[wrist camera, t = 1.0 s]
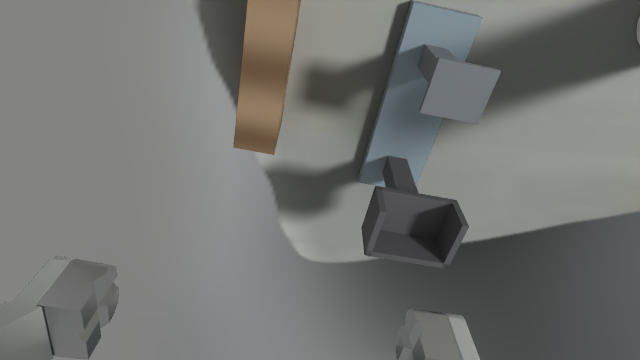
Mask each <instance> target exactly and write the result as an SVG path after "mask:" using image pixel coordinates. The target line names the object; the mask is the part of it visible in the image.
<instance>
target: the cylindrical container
mask: <svg viewBox="0 0 640 360" xmlns="http://www.w3.org/2000/svg"><path fill="white" fill-rule="evenodd" d="M636 33H637V40H638V42H639V45H640V16H639V19H638V23H637V31H636Z"/></svg>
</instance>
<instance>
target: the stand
mask: <svg viewBox="0 0 640 360" xmlns="http://www.w3.org/2000/svg"><path fill="white" fill-rule="evenodd" d="M481 21H482V17H480V16H478V15H475V14H470V13H466V12H461V11H457V10H453V9H448V8H444V7H439V6H435V5H430V4H426V3H422V2H417V1H413V0H411V3H410V7H409V10H408V13H407V17H406V20H405V23H404V27H403V30H402V33H401V37H400V40H399V44H398V47H397V50H396V54H395V57H394V60H393V64H392V67H391V70H390V74H389V77H388V80H387V84H386V87H385V90H384V94H383V97H382V100H381V104H380V107H379V110H378V114H377V117H376V120H375V124H374V127H373V130H372V134H371V137H370V140H369V144H368V147H367V151H366V154H365V157H364V161H363V164H362V167H361V171H360V174H359V182H360V183H365V184H371V185H376V186H375V189H374V192H373V195H372V198H371V201H370V204H369V207H368V210H367V213H366V216H365V219H364V222H363V225H362V236H363V245H364V254H365V255H366V256H372V257H378V258H384V259H390V260H397V261H403V262H409V263H415V264H421V265H427V266H433V267H439V268H446V269H447V268H448V267H449V265H450V263H451V261H452V259H453V257H454V255H455V253H456V251H457V249H458V247H459V245H460V243H461V241H462V239H463V237H464V236H465V234H466V232H467V230H468V228H469V226H468V224H467V221H466V219H465V217H464V215H463V213H462V211H461V209H460V206H459V204H458V202H457V200H452V199H447V198H441V197H436V196H430V195H425V194H419V193H418V191H417V188H416V186H417V183H418V180H419V178H420V175H421V173H422V170H423V168H424V165H425V163H426V160H427V158H428V155H429V153H430V150H431V148H432V145H433V142H434V140H435V137H436V135H437V132H438V130H439V127H440V125H441V122H442V120H443V118H448V119H453V120H458V121H463V122H468V123H473V124H478V122H479V120H480V118H481V116H482V113H483V111H484V109H485V107H486V105H487V102H488V100H489V98H490V96H491V93H492V91H493V89H494V87H495V84H496V82H497V80H498V78H499V75H500V73H501V71H500V70H499V69H496V68H491V67H486V66H482V65H477V64H473V63H468V62H465V61H466V59H467V56H468V54H469V51H470V49H471V46H472V44H473V41H474V39H475V36H476V34H477V31H478V28H479V26H480V23H481ZM380 186H382V187H380Z"/></svg>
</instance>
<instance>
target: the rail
mask: <svg viewBox="0 0 640 360" xmlns="http://www.w3.org/2000/svg"><path fill="white" fill-rule="evenodd" d="M300 3H301V0H248V3H247V13H246V23H245V34H244V44H243V55H242V65H241V75H240V86H239V96H238V106H237V117H236V127H235V137H234V148H240V149H246V150H250V151H256V152H261V153H267V154H272V155H274V153H275V148H276V144H277V140H278V135H279V131H280V127H281V121H282V114H283V108H284V102H285V96H286V90H287V83H288V77H289V71H290V65H291V59H292V52H293V46H294V40H295V34H296V28H297V21H298V15H299V9H300Z"/></svg>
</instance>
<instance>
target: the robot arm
mask: <svg viewBox="0 0 640 360" xmlns="http://www.w3.org/2000/svg"><path fill="white" fill-rule="evenodd" d="M116 277H117V269H116V266H114V265H109V264H103V263H97V262H91V261H85V260H80V259H71V258H66V257H60V256H55V257H53V258H51V259H50V260H49V261H48V262H47V263H46V264H45V265H44V266H43V268H42V269H41V270H40V271H39V272H38V273H37V274H36V276H35V277H34V278H33V279H32V280H31V282H30V283H29V284H28V285H27V286H26V287H25V289H23V291H22V292H21V293H20V294H19V295H18V296H17V298H16V299H15V300H14V301H13V302H5V303H3V304H0V360H51V359H53V356H57V357H68V358H77V359H89V358H90V356H91V354H92V353H93V351H94V349H95V347H96V345H97V344H98V342H99V340H100V338H101V331H100V328H102V327H103V326H105V325H107V324H108V323H109V322H110V320H111V319H112V317H113V315H114V313H115V310H116V306H117V304H118V297H119V289H118V287H117V286H116V285H115V284H114V280H115V279H116ZM405 320H406V325H404V326H403V327H401V328H400V330H399V332H398V335H397V340H396V357H397V360H480V359H479V356H478V354H477V351H476V348H475V345H474V343H473V340H472V337H471V335H470V332H469V330H468V327H467V324H466V322H465V319H464V318H463V317H462V316H460V315H453V314H446V313H445V314H443V313H438V312H432V311H424V310H417V309H410V310H409V311H408V312H407V314H406V316H405Z"/></svg>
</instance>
